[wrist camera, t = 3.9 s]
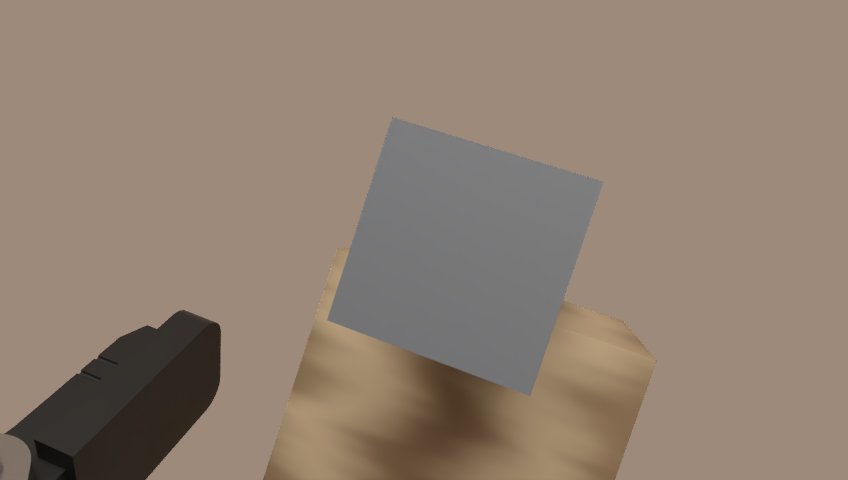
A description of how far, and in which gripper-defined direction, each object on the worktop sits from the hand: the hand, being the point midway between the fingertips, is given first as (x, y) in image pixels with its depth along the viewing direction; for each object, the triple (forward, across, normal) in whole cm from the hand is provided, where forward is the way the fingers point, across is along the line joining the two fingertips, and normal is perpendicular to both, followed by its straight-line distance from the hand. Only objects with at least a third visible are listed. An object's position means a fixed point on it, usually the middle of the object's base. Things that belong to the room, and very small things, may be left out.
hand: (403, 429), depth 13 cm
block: (+14, 0, +6) cm, 15 cm away
